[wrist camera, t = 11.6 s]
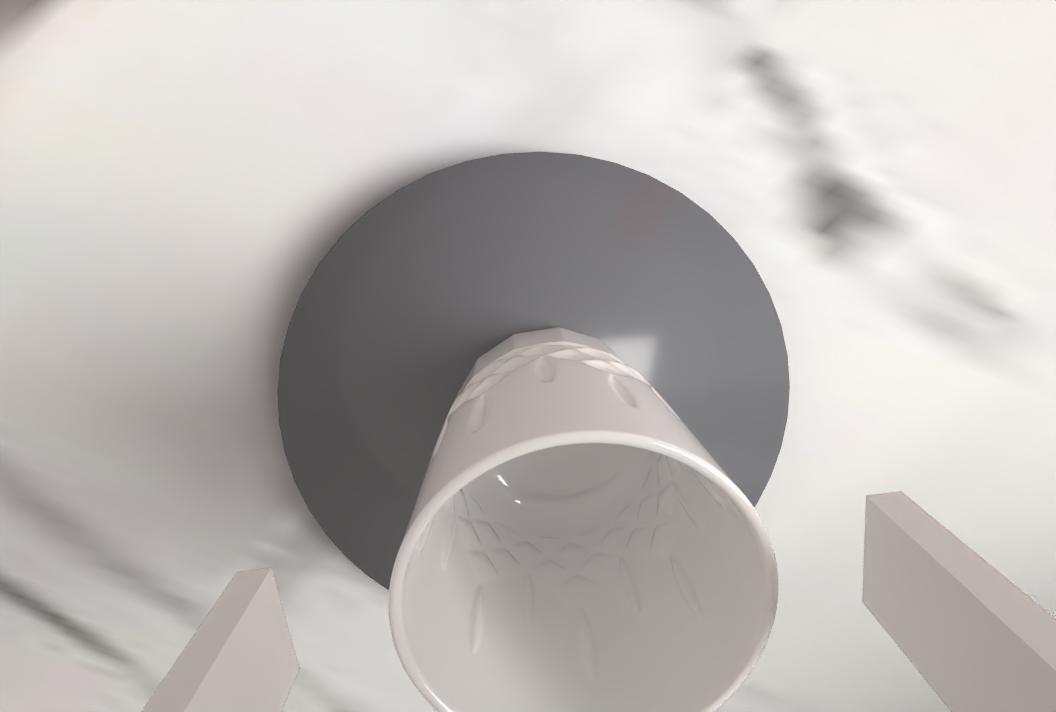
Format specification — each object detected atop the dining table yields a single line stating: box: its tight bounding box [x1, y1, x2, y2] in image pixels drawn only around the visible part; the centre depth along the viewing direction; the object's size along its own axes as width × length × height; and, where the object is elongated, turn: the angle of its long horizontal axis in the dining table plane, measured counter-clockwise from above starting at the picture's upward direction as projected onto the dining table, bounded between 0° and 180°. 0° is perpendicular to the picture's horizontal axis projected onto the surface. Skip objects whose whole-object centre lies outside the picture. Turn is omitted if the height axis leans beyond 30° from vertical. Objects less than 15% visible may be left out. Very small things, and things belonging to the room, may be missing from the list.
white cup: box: [388, 327, 778, 712], centre depth 17 cm, size 8×8×10 cm
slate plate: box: [278, 152, 790, 590], centre depth 23 cm, size 18×18×2 cm
